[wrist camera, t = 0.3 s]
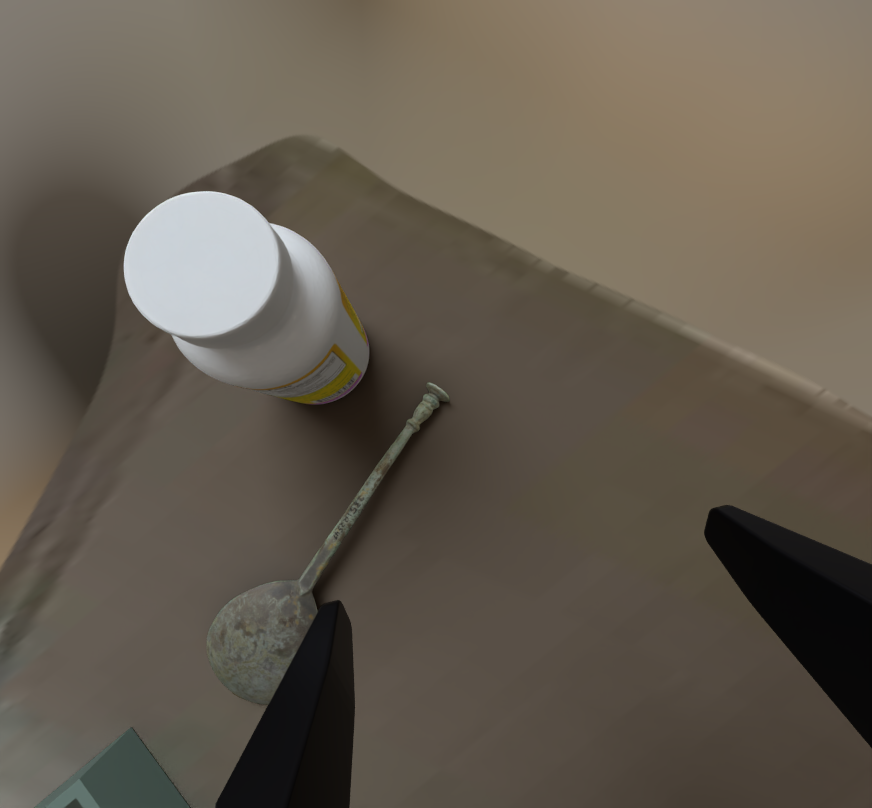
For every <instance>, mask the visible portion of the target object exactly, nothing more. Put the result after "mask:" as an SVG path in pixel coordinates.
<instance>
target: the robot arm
mask: <svg viewBox="0 0 872 808" xmlns="http://www.w3.org/2000/svg"><path fill="white" fill-rule="evenodd" d="M704 535H705V538H706V540H707V542H708V544H709V545H710V547H711V548H712V549H713V551H714V552H715V554H716V555H717V557H718V558H719V559H720V561H721V562H722V564H723V565H724V567H725V568H726V569H727V571H728V572H729V574H730V575H731V577H732V578H733V579H734V581H735V582H736V584H737V585H738V587H739V588H740V589H741V591H742V592H743V594H744V595H745V596H746V598H747V599H748V600H749V602H750V603H751V604H752V605H753V607H754V608H755V609H756V610H757V612H758V613H759V614H760V615H761V617H762V618H763V619H764V620H765V621H766V623H767V624H768V625H769V626H770V627H771V628H772V630H773V631H774V632H775V633H776V634H777V636H778V637H779V638H780V639H781V640H782V642H783V643H784V644H785V645H786V646H787V648H788V649H789V650H790V651H791V652H792V654H793V655H794V656H795V657H796V658H797V660H798V661H799V662H800V663H801V664H802V665H803V667H804V668H805V669H806V670H807V671H808V673H809V674H810V675H811V676H812V677H813V679H814V680H815V681H816V682H817V683H818V685H819V686H820V687H821V688H822V689H823V691H824V692H825V693H826V694H827V695H828V697H829V698H830V699H831V700H832V701H833V702H834V704H835V705H836V706H837V707H838V708H839V710H840V711H841V712H842V713H843V714H844V716H845V717H846V718H847V719H848V720H849V722H850V723H851V724H852V725H853V726H854V728H855V729H856V730H857V731H858V732H859V734H860V735H861V736H862V737H863V738H864V739H865V741H866V742H867V743H868V744H869V745H870V747H871V748H872V564H870V563H867V562H865V561H862V560H860V559H858V558H855V557H853V556H850V555H848V554H846V553H843V552H841V551H839V550H836V549H834V548H831V547H829V546H827V545H824V544H822V543H819V542H817V541H815V540H812V539H810V538H808V537H805V536H803V535H800V534H798V533H796V532H793V531H791V530H788V529H786V528H784V527H781V526H779V525H777V524H774V523H772V522H769V521H767V520H765V519H762V518H760V517H757V516H755V515H753V514H750V513H748V512H746V511H743V510H741V509H738V508H736V507H733V506H730V505H724V506H720V507H716V508H712V509H711V510H710V511H709V514H708V518H707V522H706V526H705V530H704ZM354 717H355V693H354V668H353V643H352V627H351V622H350V619H349V617H348V615H347V613H346V610H345V608H344V606H343V604H342V602H341V601H339V600H336V601H332V602H328V603H325V604H323V605H322V606H321V607H320V609H319V610H318V612H317V614H316V616H315V618H314V620H313V622H312V624H311V626H310V627H309V629H308V631H307V633H306V635H305V637H304V639H303V641H302V642H301V644H300V646H299V648H298V650H297V652H296V654H295V656H294V657H293V659H292V661H291V663H290V665H289V667H288V669H287V671H286V673H285V674H284V676H283V678H282V680H281V682H280V684H279V686H278V688H277V689H276V691H275V693H274V695H273V697H272V699H271V701H270V703H269V705H268V706H267V708H266V710H265V712H264V714H263V716H262V718H261V720H260V721H259V723H258V725H257V727H256V729H255V731H254V733H253V735H252V736H251V738H250V740H249V742H248V744H247V746H246V748H245V750H244V752H243V753H242V755H241V757H240V759H239V761H238V763H237V765H236V767H235V768H234V770H233V772H232V774H231V776H230V778H229V780H228V782H227V784H226V785H225V787H224V789H223V791H222V793H221V795H220V797H219V799H218V800H217V802H216V805H215V808H349V805H350V788H351V770H352V753H353V736H354Z"/></svg>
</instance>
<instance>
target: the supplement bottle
mask: <svg viewBox="0 0 872 808" xmlns="http://www.w3.org/2000/svg"><path fill="white" fill-rule="evenodd" d="M124 276H125V282H126V286H127V289H128V292H129V295H130V297H131V299H132V301H133V303H134V304H135V306H136V307H137V309H138V310H139V311H140V312H141V314H142V315H143V316H144V317H145V318H147V319H148V320H149V321H150V322H151V323H152V324H153V325H155V326H156V327H158V328H160V329H161V330H163V331H165V332H167V333H169V334H171V335H172V337H173V339H174V341H175V342H176V344H177V346H178V347H179V349H180V350H181V352H182V353H183V354H184V355H185V357H186V358H187V359H188V360H189V361H190V362H191V363H192V364H193V365H195V366H196V367H197V368H198V369H199V370H201V371H202V372H204V373H205V374H207V375H209V376H211V377H212V378H214V379H217V380H219V381H222V382H224V383H227V384H230V385H233V386H237V387H241V388H245V389H249V390H253V391H256V392H260V393H264V394H267V395H271V396H275V397H279V398H283V399H287V400H290V401H295V402H299V403H304V404H325V403H330V402H333V401H336V400H338V399H340V398H342V397H344V396H345V395H347V394H348V393H349V392H351V391H352V390H353V389H354V388H355V387H356V386H357V385H358V383H359V382H360V380H361V379H362V377H363V375H364V373H365V371H366V369H367V365H368V361H369V343H368V338H367V335H366V332H365V330H364V328H363V326H362V323H361V322H360V320H359V318H358V317H357V315H356V313H355V311H354V309H353V308H352V306H351V304H350V302H349V300H348V299H347V297H346V295H345V293H344V292H343V290H342V288H341V286H340V284H339V282H338V280H337V278H336V277H335V275H334V273H333V271H332V269H331V268H330V266H329V264H328V263H327V261H326V260H325V258H324V257H323V256H322V255H321V253H320V252H319V251H318V250H317V249H316V248H315V247H314V246H313V245H312V244H311V243H310V242H309V241H307V240H306V239H304V238H303V237H302V236H300V235H298V234H297V233H295V232H293V231H291V230H289V229H287V228H285V227H282V226H278V225H275V224H270V223H268V221H267V220H266V219H265V218H264V217H263V216H262V215H261V214H260V213H259V212H258V211H257V210H256V209H255V208H253V207H252V206H251V205H249V204H248V203H246V202H244V201H243V200H241V199H239V198H236V197H234V196H231V195H228V194H224V193H218V192H208V191H205V192H192V193H186V194H182V195H179V196H176V197H173V198H171V199H168V200H167V201H165V202H163V203H161V204H160V205H158V206H157V207H155V208H154V209H153V210H152V211H150V212H149V213H148V214H147V215H146V216H145V217H144V218H143V220H142V221H141V222H140V223H139V224H138V226H137V227H136V229H135V230H134V232H133V233H132V235H131V238H130V240H129V242H128V245H127V248H126V252H125V258H124Z"/></svg>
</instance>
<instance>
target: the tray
mask: <svg viewBox="0 0 872 808" xmlns="http://www.w3.org/2000/svg"><path fill="white" fill-rule="evenodd" d="M34 808H190V807H189V806H188V804H187V803H186V802H185V800H184V799H183V797H182V796H181V795H180V793H179V792H178V791H177V789H176V788H175V787H174V785H173V784H172V782H171V781H170V780H169V778H168V777H167V776H166V774H165V773H164V771H163V770H162V769H161V767H160V766H159V765H158V763H157V762H156V760H155V759H154V758H153V756H152V755H151V754H150V752H149V751H148V749H147V748H146V747H145V745H144V744H143V743H142V741H141V740H140V738H139V737H138V736H137V734H136V733H135V732H134V730H133V729H132V727H131V728H130V729H128V730H127V731H126V732H125V733H124V734H122V735H121V736H120V737H119V738H118V739H116V740H115V741H114V742H113V743H112V744H110V745H109V746H108V747H107V748H105V749H104V750H103V751H102V752H101V753H99V754H98V755H97V756H96V757H95V758H93V759H92V760H91V761H90V762H89V763H87V764H86V765H85V766H84V767H83V768H81V769H80V770H79V771H78V772H76V773H75V774H74V775H73V776H72V777H70V778H69V779H68V780H67V781H66V782H64V783H63V784H62V785H61V786H60V787H58V788H57V789H56V790H55V791H54V792H52V793H51V794H50V795H49V796H48V797H46V798H45V799H44V800H43V801H41V802H40V803H39V804H38V805H37V806H35V807H34Z"/></svg>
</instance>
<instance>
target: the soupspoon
mask: <svg viewBox="0 0 872 808" xmlns="http://www.w3.org/2000/svg"><path fill="white" fill-rule="evenodd" d="M426 386H427V389H428V391H429V394H425V395H424V396H423V401H422V402H421V403H420V404H419V405H418V407H417V408H416V409H415V411H414V415H413V418H411V419H408V420H407V422H406V426H405V428H404V429H403V430H402V432H401V433H400V434H399V436H398V437H397V438H396V440H395V441H394V443H393V444H392V445H391V447H390V448H389V449H388V451H387V452H386V453H385V455H384V456H383V458H382V459H381V460H380V462H379V463H378V465H377V466H376V467H375V469H374V470H373V472H372V473H371V475H370V476H369V478H368V479H367V481H366V482H365V484H364V485H363V487H362V488H361V489H360V491H359V492H358V494H357V495H356V497H355V498H354V500H353V501H352V503H351V504H350V506H349V507H348V509H347V510H346V512H345V513H344V515H343V516H342V518H341V519H340V521H339V522H338V523H337V525H336V526H335V528H334V529H333V531H332V532H331V533H330V535H329V536H328V538H327V539H326V540H325V542H324V543H323V545H322V546H321V547H320V549H319V550H318V552H317V553H316V555H315V556H314V558H313V559H312V561H311V562H310V564H309V565H308V566H307V568H306V569H305V571H304V572H303V574H302V575H301V577H300V578H299V579H298V580H288V581H275V582H270V583H266V584H262V585H260V586H258V587H255V588H253V589H251V590H248V591H247V592H244V593H242V594H240V595H238V596H237V597H235V598H234V599H232V600H231V601H230V602H229V603H228V604H227V605H226V606H224V607H223V608H222V609H221V610H220V612H219V613H218V615H217V616H216V618H215V620H214V621H213V623H212V625H211V627H210V630H209V633H208V636H207V655H208V659H209V662H210V665H211V667H212V669H213V671H214V673H215V674H216V676H217V677H218V679H219V680H220V681H221V682H222V683H223V684H224V686H225V687H227V688H228V689H229V690H230V691H231V692H232V693H233V694H235V695H236V696H238V697H241V698H243V699H245V700H248V701H250V702H254V703H258V704H265V705H269V703H270V701H271V699H272V697H273V695H274V693H275V691H276V689H277V688H278V686H279V684H280V682H281V680H282V678H283V676H284V674H285V673H286V671H287V669H288V667H289V665H290V663H291V661H292V659H293V657H294V656H295V654H296V652H297V650H298V648H299V646H300V644H301V642H302V641H303V639H304V637H305V635H306V633H307V631H308V629H309V627H310V626H311V624H312V622H313V620H314V618H315V616H316V614H317V612H318V610H317V606H316V603H315V600H314V596H313V594H312V590H313V588H314V586H315V584H316V583H317V581H318V579H319V577H320V576H321V574H322V573H323V571H324V570H325V568H326V566H327V565H328V563H329V562H330V560H331V559H332V557H333V555H334V554H335V552H336V551H337V549H338V548H339V546H340V545H341V543H342V541H343V540H344V538H345V536H346V535H347V534H348V532H349V531H350V529H351V528H352V526H353V524H354V523H355V521H356V520H357V519H358V517H359V515H360V514H361V512H362V510H363V508H364V507H365V506H366V504H367V503H368V501H369V499H370V497H371V496H372V494H373V493H374V491H375V490H376V488H377V486H378V485H379V483H380V482H381V480H382V479H383V477H384V476H385V474H386V473H387V471H388V470H389V468H390V467H391V465H392V464H393V462H394V461H395V460H396V458H397V457H398V455H399V453H400V452H401V451H402V449H403V448H404V446H405V444H406V443H407V441H408V440H409V438H410V437H411V435H412V434H413V433H414V432H417V431H419V430H420V427H419V426H420V424H421V423H422V422H424V421H425V420H427V419H428V418H429V417H430V415H431V414H432V412H433V410H434V409H436V408H438V407H439V401H444V402H448V401H449V400H450V398H449V396H448V395H447V393H446V392H444V391H443V390H442V389H441V388H439V387H437V385H434V384H432V383H427V385H426Z"/></svg>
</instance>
